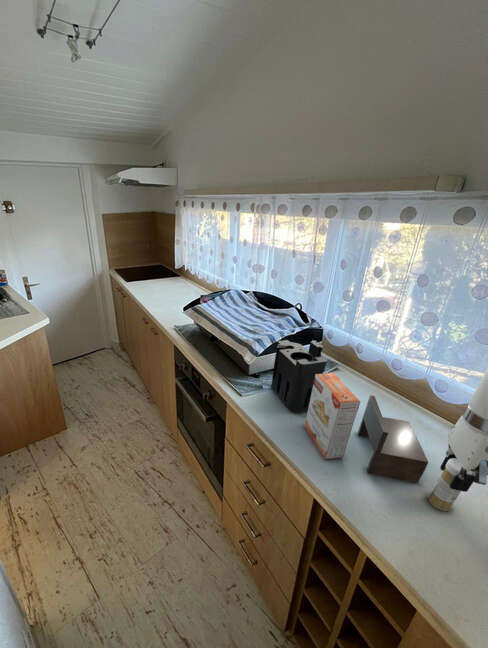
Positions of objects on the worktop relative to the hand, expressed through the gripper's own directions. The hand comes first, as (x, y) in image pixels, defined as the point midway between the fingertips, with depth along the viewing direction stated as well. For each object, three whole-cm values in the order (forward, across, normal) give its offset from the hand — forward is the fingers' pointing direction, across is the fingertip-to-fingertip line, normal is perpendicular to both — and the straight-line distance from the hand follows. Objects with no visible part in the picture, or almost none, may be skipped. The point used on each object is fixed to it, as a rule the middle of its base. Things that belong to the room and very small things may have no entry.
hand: (452, 479), depth 71 cm
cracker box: (+9, +14, +26) cm, 31 cm away
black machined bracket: (+9, +36, +35) cm, 51 cm away
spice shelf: (+9, +13, +9) cm, 18 cm away
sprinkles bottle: (+9, 0, 0) cm, 9 cm away
